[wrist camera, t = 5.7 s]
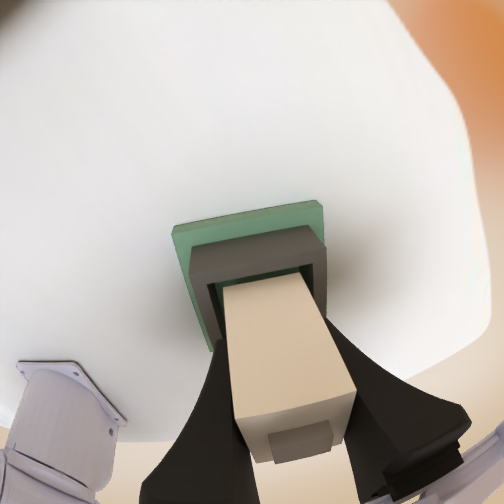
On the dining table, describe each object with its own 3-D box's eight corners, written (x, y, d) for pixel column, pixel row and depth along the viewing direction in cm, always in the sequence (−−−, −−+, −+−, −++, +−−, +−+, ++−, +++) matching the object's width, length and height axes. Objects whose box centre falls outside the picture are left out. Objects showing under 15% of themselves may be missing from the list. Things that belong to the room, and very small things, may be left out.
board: (319, 318, 18) (337, 357, 15) (209, 341, 17) (211, 384, 14) (315, 200, 14) (344, 226, 11) (173, 226, 14) (163, 260, 11)
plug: (303, 338, 13) (345, 456, 8) (239, 351, 13) (258, 477, 8) (299, 272, 12) (364, 407, 6) (222, 287, 11) (237, 438, 6)
